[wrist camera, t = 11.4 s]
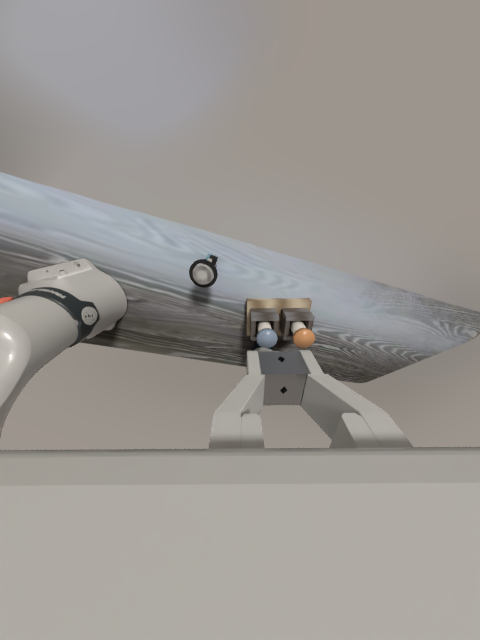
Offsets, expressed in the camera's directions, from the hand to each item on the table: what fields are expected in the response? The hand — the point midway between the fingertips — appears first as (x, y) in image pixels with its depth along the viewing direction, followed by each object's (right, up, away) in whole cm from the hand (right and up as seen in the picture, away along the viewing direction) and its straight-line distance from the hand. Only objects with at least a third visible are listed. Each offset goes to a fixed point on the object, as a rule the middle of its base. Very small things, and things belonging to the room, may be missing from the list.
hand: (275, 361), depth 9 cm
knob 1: (+4, +2, +38) cm, 39 cm away
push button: (-9, +15, +35) cm, 39 cm away
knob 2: (+12, +2, +38) cm, 40 cm away
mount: (+8, +3, +40) cm, 41 cm away
